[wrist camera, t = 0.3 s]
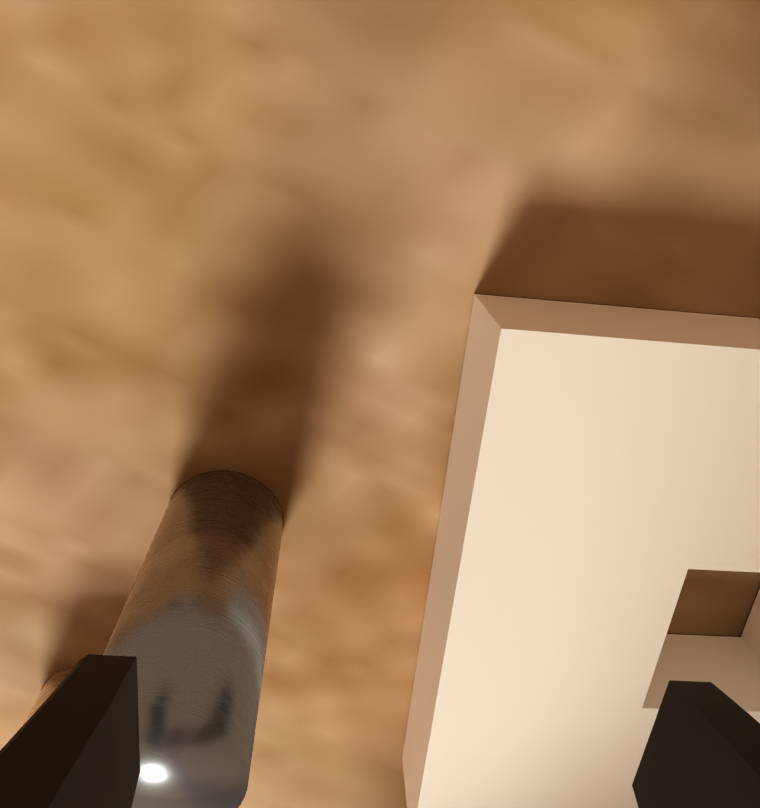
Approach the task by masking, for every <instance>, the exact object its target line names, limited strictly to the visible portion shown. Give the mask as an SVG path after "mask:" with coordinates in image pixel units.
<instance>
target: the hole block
mask: <svg viewBox="0 0 760 808" xmlns="http://www.w3.org/2000/svg"><path fill="white" fill-rule="evenodd" d="M688 569H699V570H719V571H739V572H759V573H760V319H759V318H747V317H736V316H724V315H712V314H701V313H689V312H677V311H666V310H654V309H643V308H631V307H619V306H608V305H596V304H585V303H573V302H561V301H550V300H538V299H526V298H515V297H503V296H492V295H480V294H474V299H473V306H472V312H471V318H470V325H469V331H468V338H467V344H466V351H465V357H464V363H463V370H462V376H461V383H460V389H459V395H458V402H457V408H456V415H455V421H454V428H453V434H452V440H451V447H450V453H449V460H448V466H447V473H446V479H445V485H444V492H443V498H442V505H441V511H440V518H439V524H438V530H437V537H436V543H435V550H434V556H433V563H432V569H431V575H430V582H429V588H428V595H427V601H426V608H425V614H424V620H423V627H422V633H421V640H420V646H419V653H418V659H417V665H416V672H415V678H414V685H413V691H412V698H411V704H410V710H409V717H408V723H407V730H406V736H405V743H404V749H403V755H402V763H403V773H404V783H405V793H406V803H407V808H638V804H637V801H636V797H635V794H634V791H633V787H632V784H633V781H634V778H635V775H636V772H637V770H638V767H639V764H640V761H641V758H642V756H643V753H644V750H645V747H646V744H647V742H648V739H649V736H650V733H651V730H652V727H653V725H654V722H655V719H656V716H657V713H658V711H659V708H660V705H661V702H662V699H663V697H664V694H665V691H666V688H667V685H668V683H669V680H674V681H696V682H711V683H713V684H714V685H715V686H716V687H718V688H719V689H720V690H721V691H722V692H724V693H725V694H726V695H727V696H729V697H730V698H731V699H732V700H733V701H735V702H736V703H737V704H738V705H739V706H740V707H742V708H743V709H744V710H745V711H746V712H747V713H749V714H750V715H751V716H752V717H753V718H754V719H755V720H757V721H758V722H759V723H760V589H759V591H758V594H757V596H756V599H755V602H754V604H753V607H752V609H751V612H750V615H749V617H748V620H747V622H746V625H745V628H744V630H743V633H742V635H741V637H726V636H701V635H676V634H667V631H668V628H669V625H670V622H671V619H672V616H673V613H674V610H675V607H676V604H677V601H678V598H679V595H680V592H681V589H682V586H683V583H684V580H685V577H686V574H687V571H688Z"/></svg>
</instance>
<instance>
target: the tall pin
mask: <svg viewBox="0 0 760 808" xmlns="http://www.w3.org/2000/svg"><path fill="white" fill-rule="evenodd" d="M282 528H283V516H282V511H281V508H280V505H279V503H278V501H277V499H276V498H275V497H274V495H273V494H272V493H271V492H270V490H269V489H268V488H266V487H265V486H264V485H263V484H262V483H260V482H259V481H257V480H255V479H253V478H251V477H249V476H247V475H244V474H241V473H237V472H231V471H213V472H208V473H203V474H201V475H198V476H195V477H193V478H192V479H190V480H188V481H187V482H185V483H184V484H183V485H182V486H181V487H180V488H178V490H177V491H176V492H175V493H174V495H173V497H172V499H171V501H170V503H169V505H168V507H167V510H166V512H165V514H164V516H163V519H162V521H161V523H160V526H159V528H158V530H157V532H156V535H155V537H154V539H153V542H152V544H151V546H150V548H149V551H148V553H147V555H146V557H145V560H144V562H143V564H142V567H141V569H140V571H139V573H138V576H137V578H136V580H135V583H134V585H133V587H132V589H131V592H130V594H129V596H128V598H127V601H126V603H125V605H124V608H123V610H122V612H121V614H120V617H119V619H118V621H117V624H116V626H115V628H114V630H113V633H112V635H111V637H110V639H109V642H108V644H107V646H106V649H105V651H104V653H103V655H112V656H134V657H137V681H138V714H139V747H140V774H139V778H138V782H137V787H136V791H135V795H134V799H133V803H132V808H238V807H239V806H240V805H241V803H242V801H243V799H244V797H245V794H246V791H247V787H248V780H249V772H250V765H251V757H252V750H253V743H254V735H255V728H256V721H257V713H258V706H259V698H260V691H261V684H262V676H263V669H264V661H265V654H266V647H267V639H268V632H269V625H270V617H271V610H272V602H273V595H274V588H275V580H276V573H277V565H278V558H279V551H280V543H281V536H282Z"/></svg>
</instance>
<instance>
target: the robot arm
mask: <svg viewBox="0 0 760 808" xmlns="http://www.w3.org/2000/svg"><path fill="white" fill-rule="evenodd" d="M139 774H140V747H139V714H138V681H137V657H134V656H112V655H90V654H88V655H87V656H85V657H84V658H83V659H81V660H80V661H79V662H78V663H77V664H76V666H75V667H74V668H73V669H72V670H71V671H70V673H69V674H68V675H67V676H66V677H65V678H64V680H63V681H62V682H61V683H60V684H59V685H58V687H57V688H56V689H55V690H54V691H53V692H52V694H51V695H50V696H49V697H48V698H47V699H46V700H45V702H44V703H43V704H42V705H41V706H40V707H39V708H38V709H37V711H36V712H35V713H34V714H33V715H32V716H31V717H30V718H29V720H28V721H27V722H26V723H25V724H24V725H23V726H22V727H21V728H20V730H19V731H18V732H17V733H16V734H15V735H14V736H13V737H12V738H11V739H10V741H9V742H8V743H7V744H6V745H5V746H4V747H3V748H2V749H1V750H0V808H132V803H133V799H134V795H135V791H136V787H137V782H138V778H139ZM632 787H633V791H634V794H635V797H636V801H637V804H638V808H760V723H759V722H758V721H757V720H755V719H754V718H753V717H752V716H751V715H750V714H749V713H747V712H746V711H745V710H744V709H743V708H742V707H740V706H739V705H738V704H737V703H736V702H735V701H733V700H732V699H731V698H730V697H729V696H727V695H726V694H725V693H724V692H722V691H721V690H720V689H719V688H718V687H716V686H715V685H714V684H713V683H711V682H696V681H674V680H669V683H668V685H667V688H666V691H665V694H664V697H663V699H662V702H661V705H660V708H659V711H658V713H657V716H656V719H655V722H654V725H653V727H652V730H651V733H650V736H649V739H648V742H647V744H646V747H645V750H644V753H643V756H642V758H641V761H640V764H639V767H638V770H637V772H636V775H635V778H634V781H633V784H632Z"/></svg>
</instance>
